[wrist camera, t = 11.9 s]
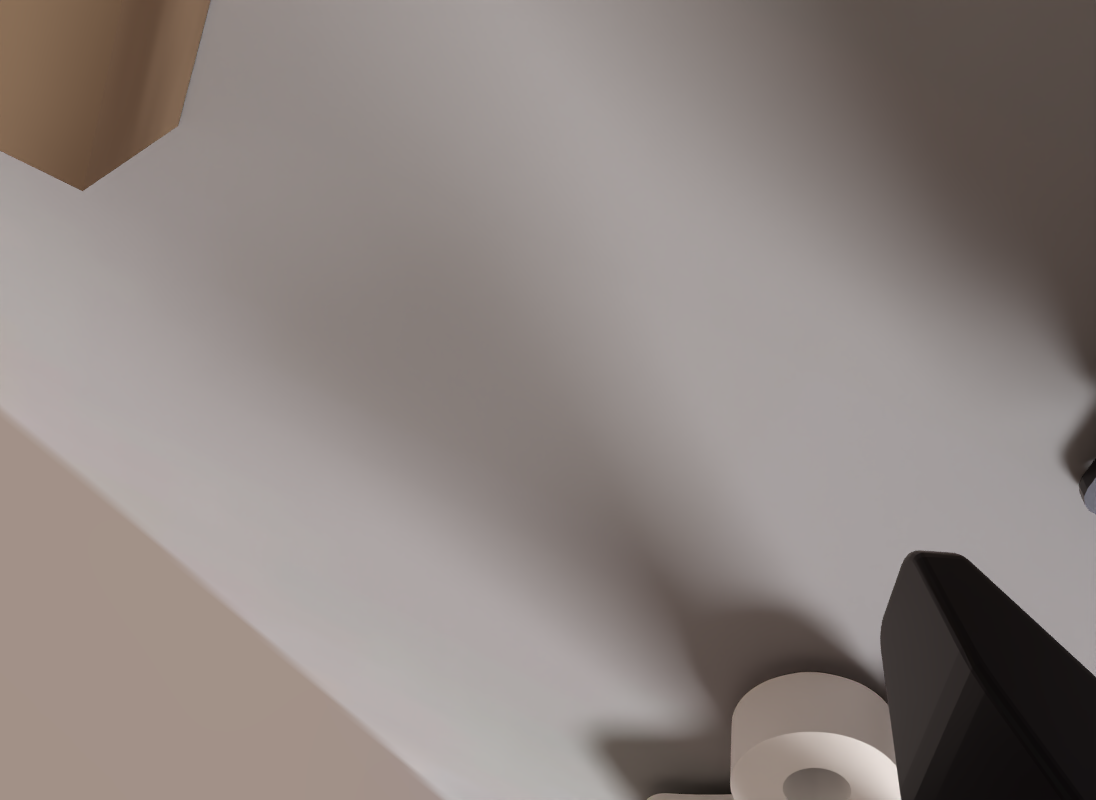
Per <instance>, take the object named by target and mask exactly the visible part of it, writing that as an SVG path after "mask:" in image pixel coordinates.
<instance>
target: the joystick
mask: <svg viewBox="0 0 1096 800" xmlns="http://www.w3.org/2000/svg"><path fill="white" fill-rule="evenodd" d="M730 787H731V792H732V794H724V795H694V794H671V793H660V794H655V795H653V796H651V797H649V798H648V799H647V800H901V796H900V789H899V782H898V774H897V767H896V759H895V751H894V744H893V736H892V729H891V721H890V714H889V706H888V705H887V703H886V702H885V701H884V700H883V699H882V698H881V697H880V696H879V695H878V694H876V693H875V692H874V691H872V690H871V689H869V688H867V687H866V686H864V685H862V684H860V683H858V682H855V681H853V680H850V679H847V678H844V677H840V676H836V675H832V674H827V673H820V672H799V673H793V674H788V675H783V676H779V677H776V678H773V679H770V680H767V681H765V682H763V683H761V684H759V685H757V686H756V687H754V688H753V689H751V690H750V691H749V692H748V693H746V694H745V695H744V696H743V697H742V699H741V700H740V701H739V703H738V704H737V706H736V708H735V710H734V713H733V716H732V729H731V772H730Z"/></svg>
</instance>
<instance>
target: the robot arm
mask: <svg viewBox="0 0 1096 800" xmlns="http://www.w3.org/2000/svg"><path fill="white" fill-rule="evenodd" d="M1079 491H1080V494H1081V497H1082V499H1083V501H1084V504H1085V505H1086V507H1087V508H1088V509H1089V511H1091V512H1093V513H1095V514H1096V459H1095V460H1094V461H1093V463H1092V464H1091V466H1090V467H1089V468H1088V470H1087V471H1086V473H1085V474H1084V475H1083V477H1082V479H1081V481H1080V484H1079ZM880 641H881V654H882V661H883V669H884V676H885V684H886V691H887V699H888V706H889V714H890V721H891V729H892V736H893V744H894V751H895V759H896V767H897V774H898V782H899V789H900V796H901V800H1096V677H1095V676H1094V675H1093V674H1092V673H1091V672H1090V671H1089V670H1087V669H1086V668H1085V667H1084V666H1083V665H1082V664H1081V663H1080V662H1079V661H1078V660H1077V659H1076V658H1074V657H1073V656H1072V655H1071V654H1070V653H1069V652H1068V651H1067V650H1066V649H1065V648H1064V647H1062V646H1061V645H1060V644H1059V643H1058V642H1057V641H1056V640H1055V639H1054V638H1053V637H1052V636H1051V635H1049V634H1048V633H1047V632H1046V631H1045V630H1044V629H1043V628H1042V627H1041V626H1040V625H1039V624H1038V623H1036V622H1035V621H1034V620H1033V619H1032V618H1031V617H1030V616H1029V615H1028V614H1027V613H1026V612H1025V611H1023V610H1022V609H1021V608H1020V607H1019V606H1018V605H1017V604H1016V603H1015V602H1014V601H1013V600H1011V599H1010V598H1009V597H1008V596H1007V595H1006V594H1005V593H1004V592H1003V591H1002V590H1001V589H1000V588H998V587H997V586H996V585H995V584H994V583H993V582H992V581H991V580H990V579H989V578H988V577H987V576H985V575H984V574H983V573H982V572H981V571H980V570H979V569H978V568H977V567H976V566H975V565H974V564H972V563H971V562H970V561H969V560H968V559H966V558H965V557H964V556H962V555H960V554H956V553H948V552H934V551H914V552H911V553H909V554H908V555H907V557H906V558H905V559H904V561H903V563H902V565H901V568H900V571H899V574H898V577H897V580H896V583H895V585H894V588H893V591H892V594H891V597H890V600H889V602H888V605H887V608H886V611H885V614H884V617H883V620H882V626H881V635H880Z"/></svg>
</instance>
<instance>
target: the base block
mask: <svg viewBox="0 0 1096 800" xmlns="http://www.w3.org/2000/svg"><path fill="white" fill-rule="evenodd" d="M209 4H210V0H0V151H2V152H4V153H6V154H8V155H10V156H12V157H14V158H16V159H18V160H20V161H22V162H24V163H26V164H28V165H30V166H32V167H35V168H37V169H39V170H41V171H43V172H45V173H47V174H49V175H51V176H53V177H55V178H57V179H59V180H61V181H63V182H65V183H67V184H69V185H71V186H73V187H75V188H77V189H80V190H82V191H83V190H85V189H86V188H88V187H89V186H91V185H92V184H94V183H95V182H97V181H98V180H99V179H101V178H102V177H104V176H105V175H107V174H108V173H110V172H111V171H113V170H114V169H116V168H117V167H118V166H120V165H121V164H123V163H124V162H126V161H127V160H129V159H130V158H132V157H133V156H135V155H136V154H138V153H139V152H140V151H142V150H143V149H145V148H146V147H148V146H149V145H151V144H152V143H154V142H155V141H157V140H158V139H159V138H161V137H162V136H164V135H165V134H167V133H168V132H170V131H171V130H173V129H174V128H176V127H177V126H178V124H179V120H180V116H181V112H182V108H183V105H184V101H185V97H186V93H187V89H188V85H189V81H190V78H191V74H192V70H193V66H194V62H195V58H196V54H197V51H198V47H199V43H200V39H201V35H202V31H203V27H204V24H205V20H206V16H207V12H208V8H209Z"/></svg>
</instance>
